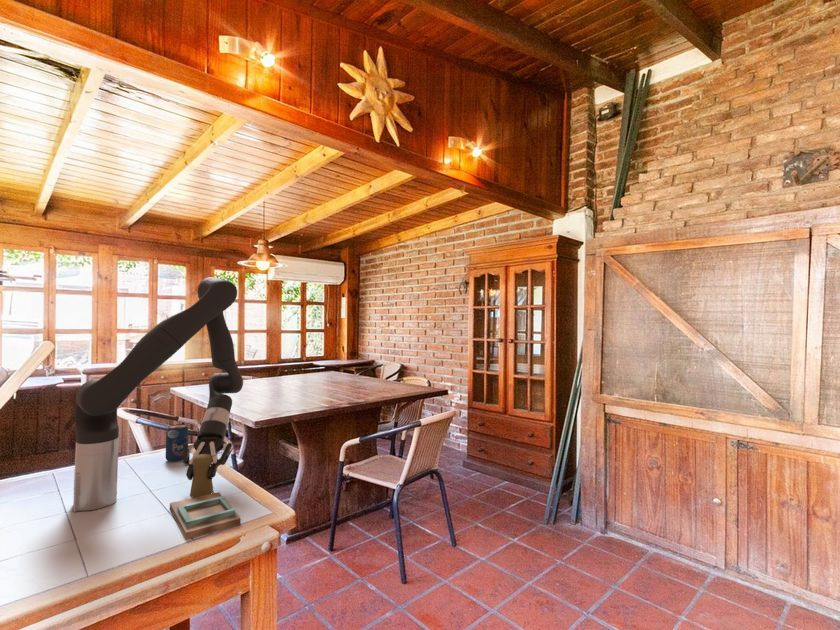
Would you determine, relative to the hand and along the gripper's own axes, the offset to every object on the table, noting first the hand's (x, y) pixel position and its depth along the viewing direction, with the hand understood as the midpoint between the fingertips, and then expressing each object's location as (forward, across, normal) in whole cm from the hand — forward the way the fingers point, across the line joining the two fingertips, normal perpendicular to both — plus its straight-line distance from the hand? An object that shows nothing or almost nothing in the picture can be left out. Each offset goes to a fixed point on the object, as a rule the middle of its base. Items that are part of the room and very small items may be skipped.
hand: (200, 478), depth 121 cm
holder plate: (+13, +5, -6) cm, 15 cm away
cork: (+2, 0, +5) cm, 6 cm away
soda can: (-20, -18, +28) cm, 39 cm away
